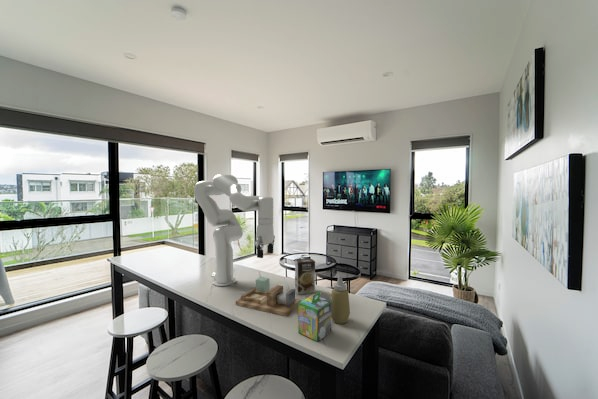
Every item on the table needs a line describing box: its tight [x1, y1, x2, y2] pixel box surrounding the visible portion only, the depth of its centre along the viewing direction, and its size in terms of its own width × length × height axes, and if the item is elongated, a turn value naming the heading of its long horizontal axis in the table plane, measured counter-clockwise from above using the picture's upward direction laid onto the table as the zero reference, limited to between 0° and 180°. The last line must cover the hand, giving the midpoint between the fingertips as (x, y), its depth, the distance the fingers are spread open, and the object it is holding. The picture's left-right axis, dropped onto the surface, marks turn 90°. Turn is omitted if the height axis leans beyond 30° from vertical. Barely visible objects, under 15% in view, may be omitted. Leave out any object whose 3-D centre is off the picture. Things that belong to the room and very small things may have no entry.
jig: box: [235, 284, 302, 317], centre depth 116 cm, size 26×14×7 cm, turn 66°
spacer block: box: [255, 276, 270, 292], centre depth 129 cm, size 5×5×7 cm
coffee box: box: [294, 258, 316, 295], centre depth 130 cm, size 9×6×16 cm
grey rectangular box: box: [276, 288, 296, 307], centre depth 113 cm, size 11×6×6 cm, turn 66°
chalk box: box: [297, 290, 333, 342], centre depth 93 cm, size 9×9×15 cm
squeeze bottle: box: [330, 274, 351, 325], centre depth 101 cm, size 8×8×18 cm
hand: (265, 255), depth 128 cm, fingers open, 9 cm apart
